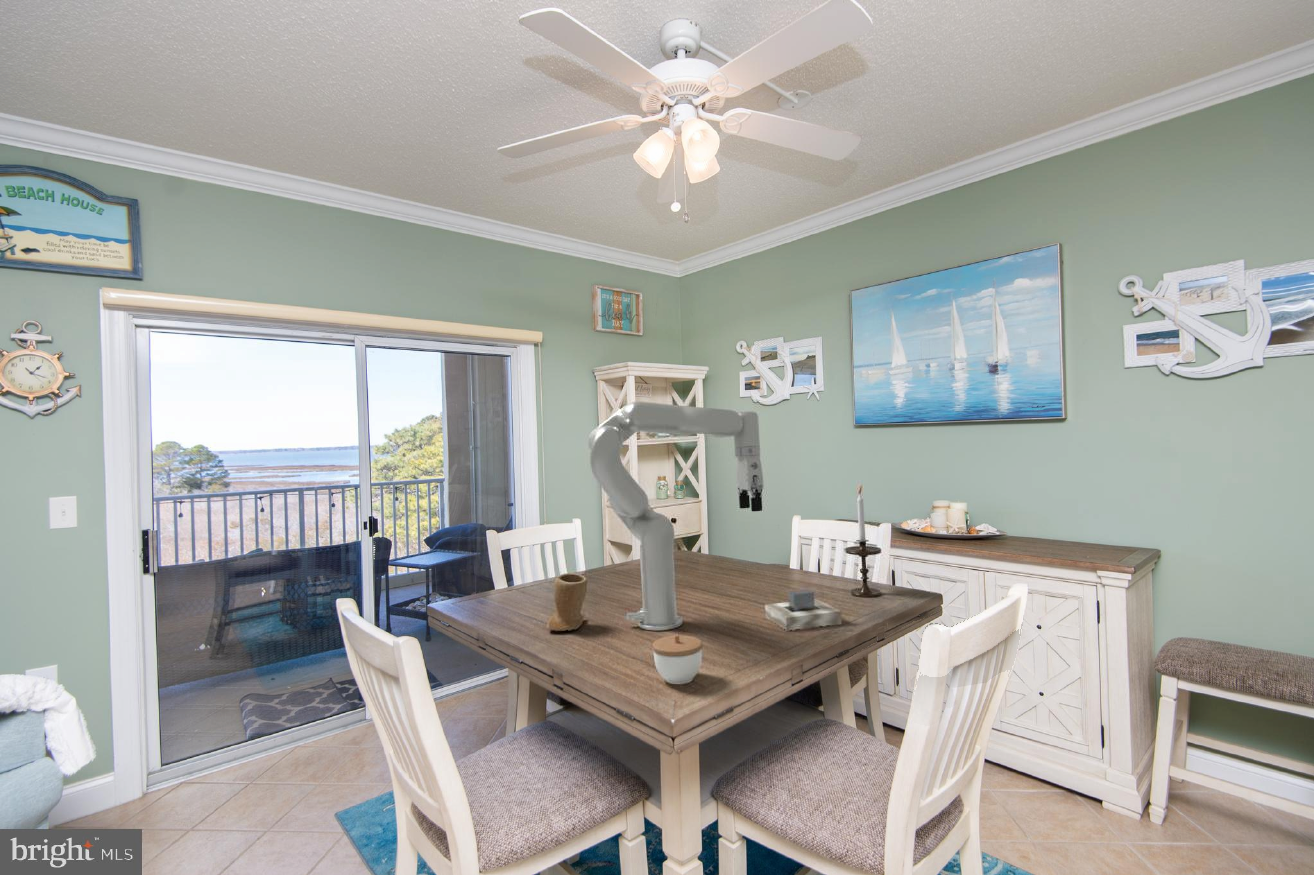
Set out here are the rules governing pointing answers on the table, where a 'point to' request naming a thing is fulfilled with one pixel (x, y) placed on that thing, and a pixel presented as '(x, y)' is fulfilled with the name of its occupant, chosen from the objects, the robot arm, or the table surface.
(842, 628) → the table surface
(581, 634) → the table surface
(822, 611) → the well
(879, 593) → the candlestick
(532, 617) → the table surface
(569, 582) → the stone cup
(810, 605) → the upright grey box
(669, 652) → the lidded jar
